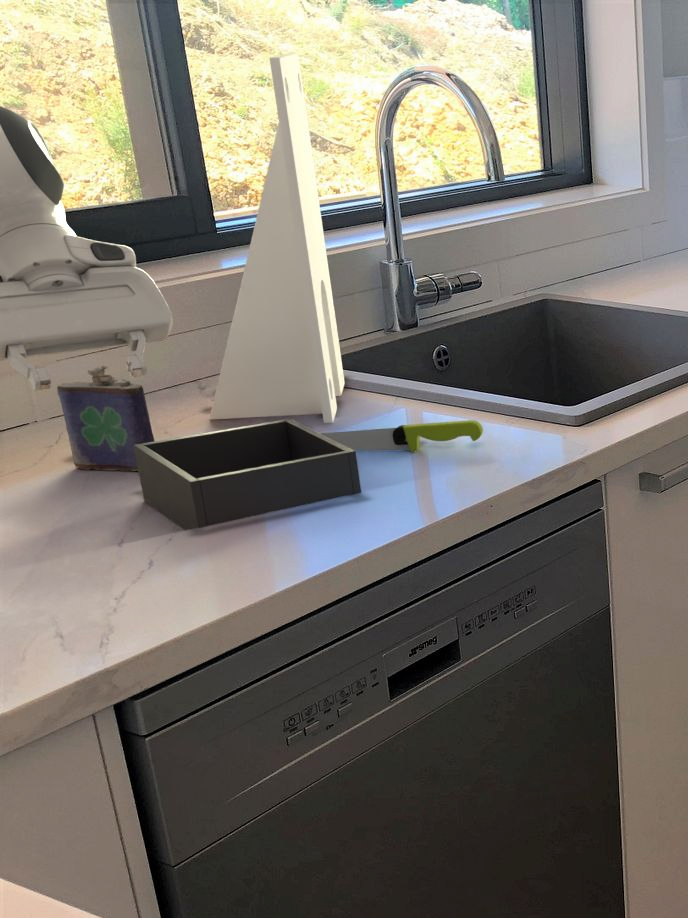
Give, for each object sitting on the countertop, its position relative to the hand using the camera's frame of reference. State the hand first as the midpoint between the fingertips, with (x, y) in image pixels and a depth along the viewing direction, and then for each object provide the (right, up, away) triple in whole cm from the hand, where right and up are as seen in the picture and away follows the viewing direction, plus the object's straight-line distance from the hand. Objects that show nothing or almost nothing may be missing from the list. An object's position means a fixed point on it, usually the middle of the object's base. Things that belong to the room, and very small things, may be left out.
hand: (92, 379), depth 146 cm
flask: (+2, -9, +2) cm, 10 cm away
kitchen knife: (+28, -7, +9) cm, 30 cm away
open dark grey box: (+21, -14, -9) cm, 27 cm away
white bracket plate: (+9, +1, +26) cm, 27 cm away
